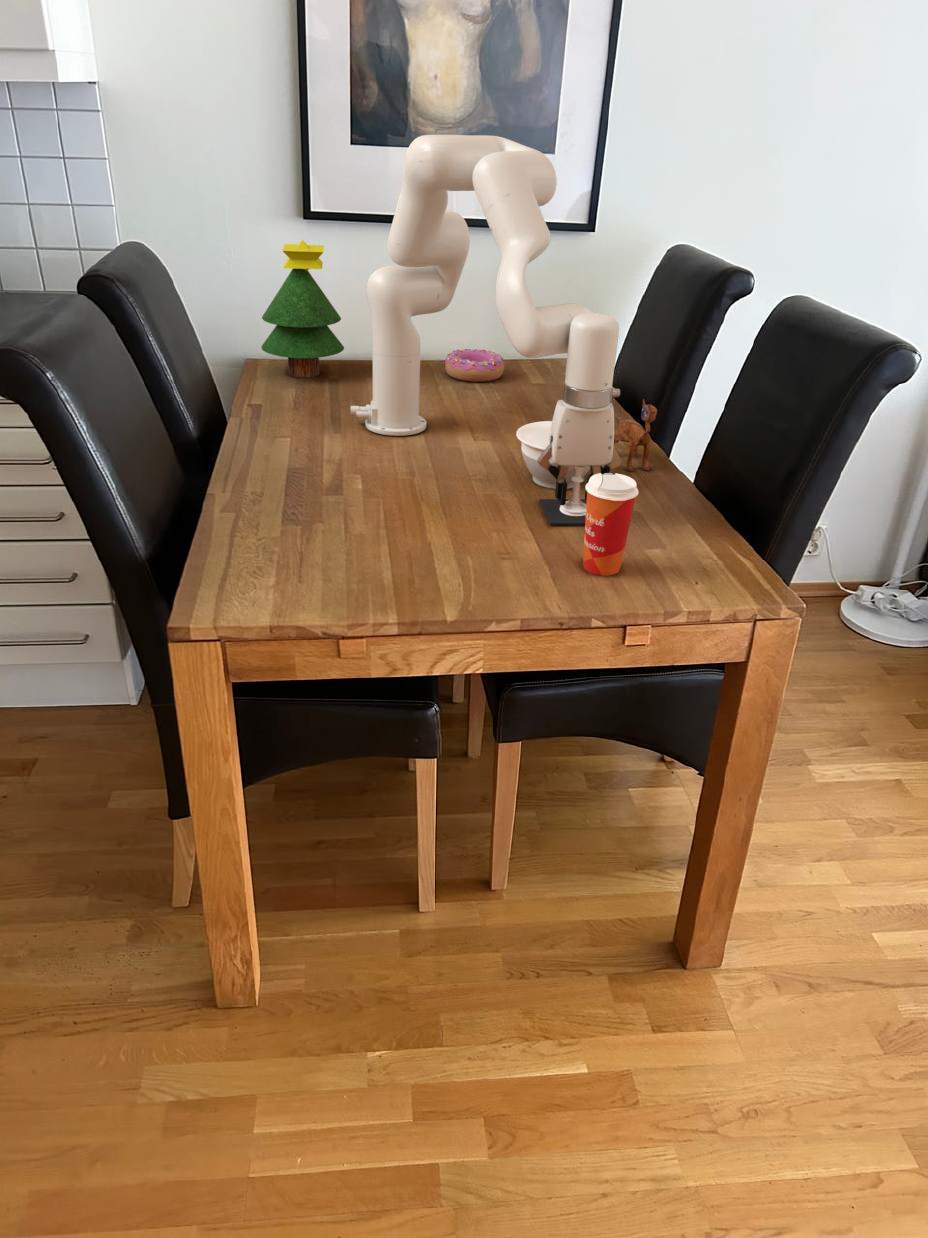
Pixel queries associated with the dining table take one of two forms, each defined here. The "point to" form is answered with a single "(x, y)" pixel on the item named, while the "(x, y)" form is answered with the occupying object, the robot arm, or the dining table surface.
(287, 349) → the decorative tree
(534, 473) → the bowl
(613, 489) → the paper cup
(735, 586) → the dining table surface
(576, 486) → the chess piece
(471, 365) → the donut
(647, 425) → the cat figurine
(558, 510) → the coaster
